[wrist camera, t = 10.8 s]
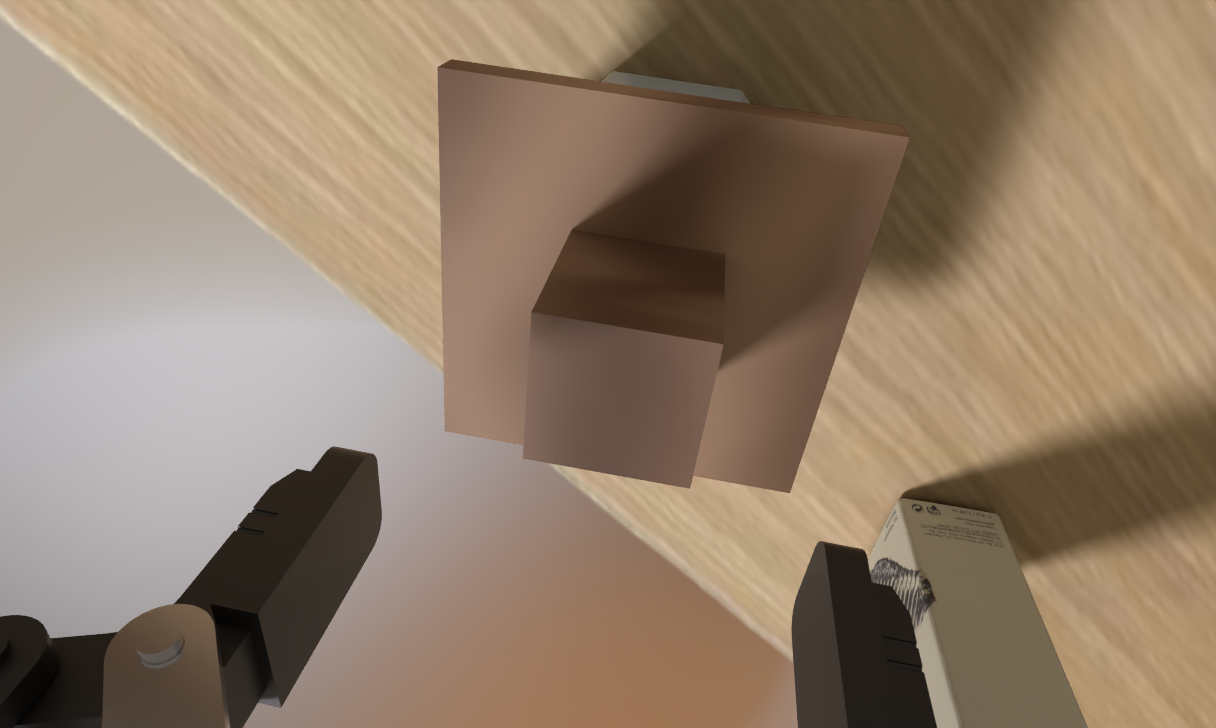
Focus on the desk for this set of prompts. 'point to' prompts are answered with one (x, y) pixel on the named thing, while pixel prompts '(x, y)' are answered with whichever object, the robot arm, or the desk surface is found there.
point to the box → (973, 619)
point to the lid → (648, 270)
